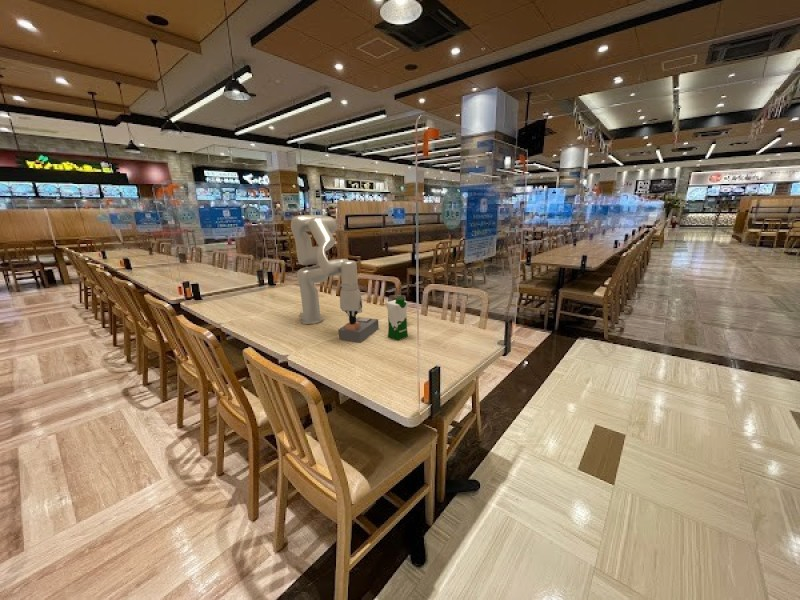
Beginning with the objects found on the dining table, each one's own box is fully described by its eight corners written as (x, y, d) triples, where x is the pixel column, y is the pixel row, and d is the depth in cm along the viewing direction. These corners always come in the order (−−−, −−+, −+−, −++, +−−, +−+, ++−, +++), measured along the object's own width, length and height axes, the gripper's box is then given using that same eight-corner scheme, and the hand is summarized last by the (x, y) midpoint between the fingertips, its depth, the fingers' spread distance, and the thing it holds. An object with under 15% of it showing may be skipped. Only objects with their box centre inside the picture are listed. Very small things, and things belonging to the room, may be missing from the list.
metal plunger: (358, 329, 167) (358, 320, 166) (363, 326, 171) (362, 317, 170) (367, 330, 165) (366, 321, 164) (371, 327, 170) (370, 318, 168)
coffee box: (406, 322, 179) (405, 294, 175) (405, 326, 173) (404, 297, 169) (390, 322, 180) (389, 294, 176) (389, 326, 174) (387, 297, 169)
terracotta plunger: (346, 334, 156) (345, 324, 155) (351, 330, 160) (350, 321, 159) (355, 335, 154) (354, 325, 153) (360, 331, 158) (359, 322, 157)
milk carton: (398, 341, 152) (397, 301, 147) (385, 337, 158) (383, 298, 153) (410, 336, 159) (409, 297, 153) (397, 332, 165) (396, 294, 159)
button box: (339, 339, 157) (338, 329, 155) (359, 326, 174) (358, 317, 173) (360, 342, 152) (359, 332, 151) (378, 329, 170) (378, 319, 169)
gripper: (332, 287, 150) (335, 324, 155) (360, 289, 145) (362, 327, 150) (341, 284, 157) (343, 319, 162) (367, 285, 152) (370, 322, 156)
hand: (352, 323), depth 156 cm, fingers closed
